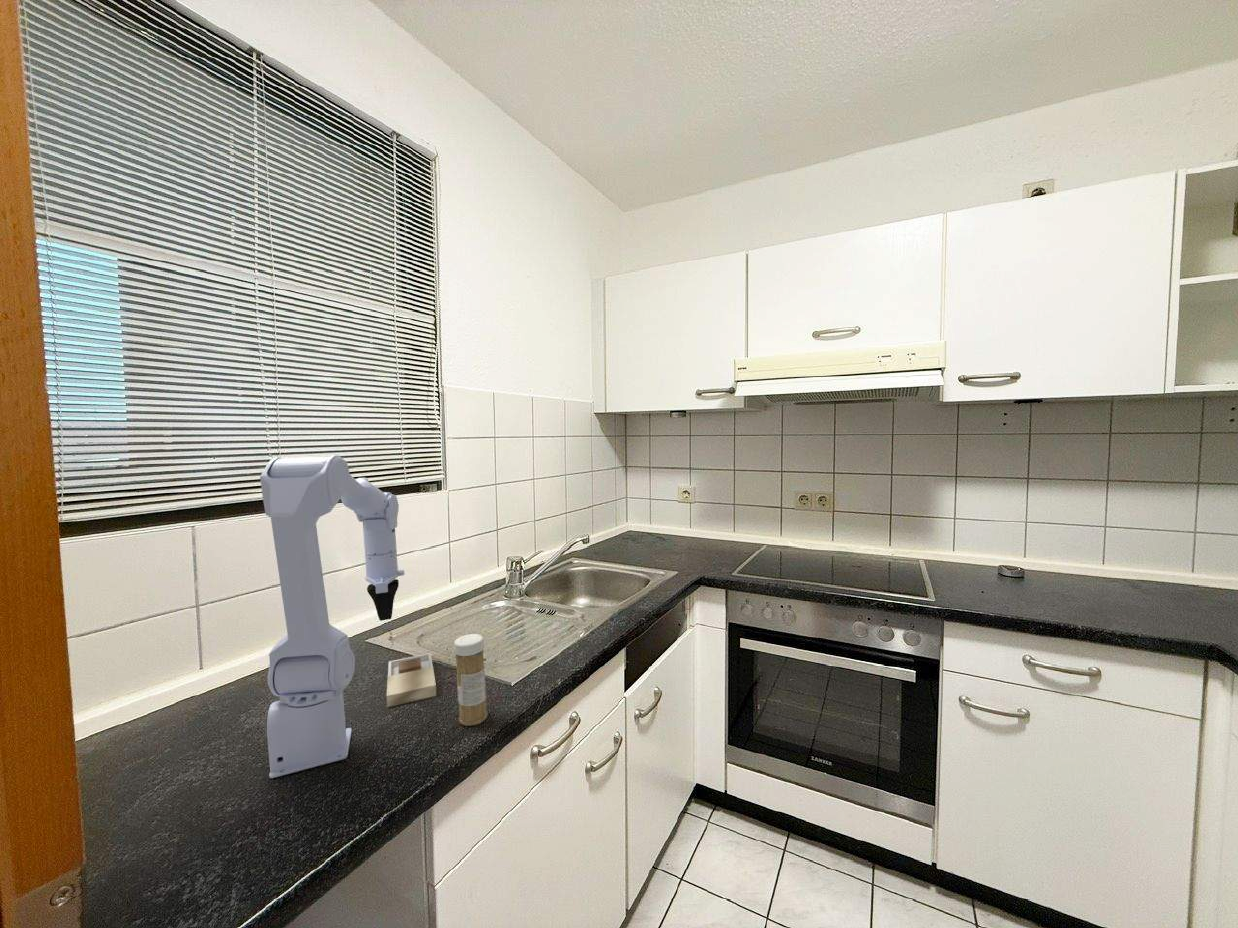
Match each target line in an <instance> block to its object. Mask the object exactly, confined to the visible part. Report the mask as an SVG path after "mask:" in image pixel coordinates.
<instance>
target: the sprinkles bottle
mask: <svg viewBox="0 0 1238 928" xmlns="http://www.w3.org/2000/svg"><path fill="white" fill-rule="evenodd" d="M453 646H454V648H453V649H454V654H455V660H456V683H457V684H456V685H457V687H456V688H457V701H458V702H457V703H458V709H459V710H458V712H459V716H458V718H459V719H458V721H459V723H460V724H461V725H463V726H468V727H469V726H476V725H479V724H481V723H483V722H484V721H485V720H486V719H487V718H488V711H487V700H486V699H487V688H486V671H485V663H484V661H485V660H484V659H485V658H484V648H485V644H484V637H483V636H482V635H481V634H478V633H471V634H466V635H465V634H464V635H461V636H459V637H458V638H456V639H455V640H454V643H453Z"/></svg>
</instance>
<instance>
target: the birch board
mask: <svg viewBox="0 0 1238 928" xmlns="http://www.w3.org/2000/svg"><path fill="white" fill-rule="evenodd" d="M434 670H435V669H434V666H433V667H429V668H425V669H420V670H415V671H411V672H406V673H401V674H396V675H392V676H388V675H387V680H386V681H387V682H386V706H387V708H390V707H394V706H399V705H404V704H407V703H410V702H411V703H412V702H415V701H416V702H417V701H419V700H425V699H428V698H434V697H437V684H436V679H435V677H436V676H435V671H434Z"/></svg>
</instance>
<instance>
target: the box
mask: <svg viewBox="0 0 1238 928" xmlns="http://www.w3.org/2000/svg"><path fill="white" fill-rule="evenodd" d="M416 658H420V660H421V669H425V668H429V667H433V668H434V665H433V659H432V654H431V652H429V653H422V654H418V655H414V656H408V657H405V658H400V659H394V660H388V664H387V665H388V667H387V668H388V669H387V677H388V676H392V675H396V674H399V662H401V661H406V660H411V659H416Z"/></svg>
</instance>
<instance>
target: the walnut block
mask: <svg viewBox="0 0 1238 928" xmlns="http://www.w3.org/2000/svg"><path fill="white" fill-rule="evenodd" d="M420 669H421V660H420V658H416V659H411V660H406V661H401V662H399V674H401V673H406V672H411V671H415V670H420Z"/></svg>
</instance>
